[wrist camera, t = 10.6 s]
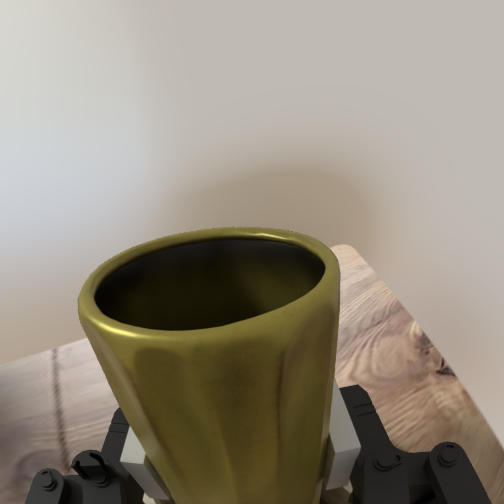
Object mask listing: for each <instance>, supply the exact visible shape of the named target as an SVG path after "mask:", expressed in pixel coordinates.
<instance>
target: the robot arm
mask: <svg viewBox="0 0 504 504" xmlns="http://www.w3.org/2000/svg"><path fill="white" fill-rule="evenodd" d="M108 431H109V432H108V433H107V436H106V439H105V442H104V445H103V448H102V451H101V452H99V451H97V450H86V451H83V452H81V453H79V454H78V455H77V456H76V457H75V458H74V459H73V461H72V465H71V467H72V468H73V469H74V470H75V471H76V472H77V473H78V474H79V475H68V476H62V475H61V474H60V473H59V472H58V471H57V470H55V469H50V468H47V469H43V470H41V471H40V472H38V473H37V474H36V476H35V478H34V480H33V483H32V485H31V488H30V491H29V494H28V496H27V499H26V502H25V504H145V503H144V502H143V496H144V492H145V494H146V495H147V496H148V497H149V498H154V499H165V500H170V491H169V490H168V488H167V487H166V485H165V484H164V482H163V480H162V479H161V477H160V476H159V474H158V473H157V471H156V469H155V468H154V466H153V465H152V463H151V461H150V460H149V458H148V456H147V455H146V453H145V451H144V449H143V448H142V446H141V444H140V442H139V440H138V439H137V437H136V435H135V434H134V432H133V430H132V428H131V427H130V425H129V423H128V421H127V419H126V417H125V416H124V414H123V412H122V410H121V408H120V407H119V408H118V409H117V410H116V411H115V413H114V416H113V419H112V421H111V424H110V427H109V430H108ZM323 479H324V483H325V488H326V490H329V489H334V488H339V487H343V486H347V485H348V483H349V480H350V482H351V485H352V488H353V490H352V492H351V494H350V497H349V499H348V502H347V503H350V504H491V502H490V500H489V497H488V495H487V493H486V491H485V489H484V487H483V485H482V483H481V481H480V479H479V478H478V476H477V474H476V472H475V470H474V468H473V466H472V464H471V462H470V461H469V459H468V457H467V455H466V453H465V451H464V450H463V449H462V448H461V446H460V445H458V444H456V443H454V442H443V443H440V444H438V445H437V446H435V447H434V448H433V449H432V451H431V452H418V453H407V452H403V451H401V450H399V449H398V448H396V447H395V446H393V445H392V443H391V441H390V440H389V437H388V435H387V433H386V431H385V429H384V427H383V424H382V422H381V420H380V418H379V416H378V414H377V413H376V410H375V407H374V405H372V401H371V399H370V397H369V395H368V393H367V392H366V391H365V390H364V389H363V388H361V387H360V386H359V385H353V386H348V387H343V388H338V385H337V383H336V380H335V377H334V384H333V396H332V405H331V416H330V427H329V436H328V446H327V455H326V461H325V468H324V473H323Z"/></svg>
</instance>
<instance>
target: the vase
mask: <svg viewBox="0 0 504 504" xmlns="http://www.w3.org/2000/svg"><path fill="white" fill-rule="evenodd" d="M339 312H340V267H339V262H338V259H337V257H336V256H335V254H334V253H333V252H332V251H331V250H330V249H329V248H328V247H327V246H326V245H324V244H323V243H322V242H320V241H319V240H317V239H315V238H312V237H310V236H307V235H304V234H301V233H297V232H293V231H287V230H281V229H272V228H261V227H223V228H212V229H204V230H197V231H191V232H185V233H179V234H175V235H170V236H166V237H162V238H158V239H155V240H152V241H149V242H146V243H143V244H140V245H137V246H135V247H132V248H130V249H127V250H126V251H123V252H122V253H119V254H117V255H116V256H114V257H112V258H110V259H109V260H107V261H105V262H104V263H103V264H101V265H100V266H99V267H98V268H97V269H96V270H95V271H94V272H93V273H92V274H91V275H90V276H89V277H88V279H87V280H86V282H85V283H84V285H83V287H82V289H81V292H80V294H79V297H78V314H79V319H80V323H81V325H82V327H83V329H84V332H85V334H86V336H87V337H88V339H89V341H90V343H91V346H92V348H93V350H94V352H95V354H96V357H97V359H98V361H99V363H100V365H101V367H102V370H103V372H104V374H105V376H106V378H107V381H108V383H109V385H110V387H111V389H112V392H113V394H114V396H115V398H116V400H117V402H118V404H119V406H120V408H121V410H122V412H123V414H124V416H125V417H126V419H127V421H128V423H129V425H130V427H131V428H132V430H133V432H134V434H135V435H136V437H137V439H138V440H139V442H140V444H141V446H142V448H143V449H144V451H145V453H146V455H147V456H148V458H149V460H150V461H151V463H152V465H153V466H154V468H155V469H156V471H157V473H158V474H159V476H160V477H161V479H162V480H163V482H164V484H165V485H166V487H167V488H168V490H169V491H170V493H171V495H172V497H173V499H174V501H175V503H176V504H319V501H320V494H321V487H322V481H323V473H324V468H325V461H326V455H327V446H328V436H329V427H330V416H331V405H332V396H333V384H334V374H335V362H336V351H337V340H338V327H339Z"/></svg>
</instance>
